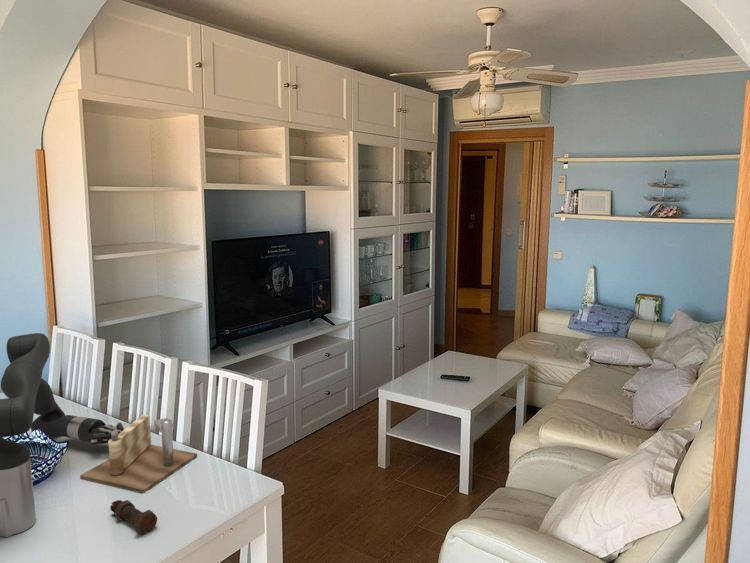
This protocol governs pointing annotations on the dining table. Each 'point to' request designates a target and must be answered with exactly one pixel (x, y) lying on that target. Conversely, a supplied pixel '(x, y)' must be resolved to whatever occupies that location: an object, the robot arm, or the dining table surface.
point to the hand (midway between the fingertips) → (128, 437)
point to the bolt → (134, 516)
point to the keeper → (166, 440)
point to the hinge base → (139, 469)
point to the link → (129, 444)
